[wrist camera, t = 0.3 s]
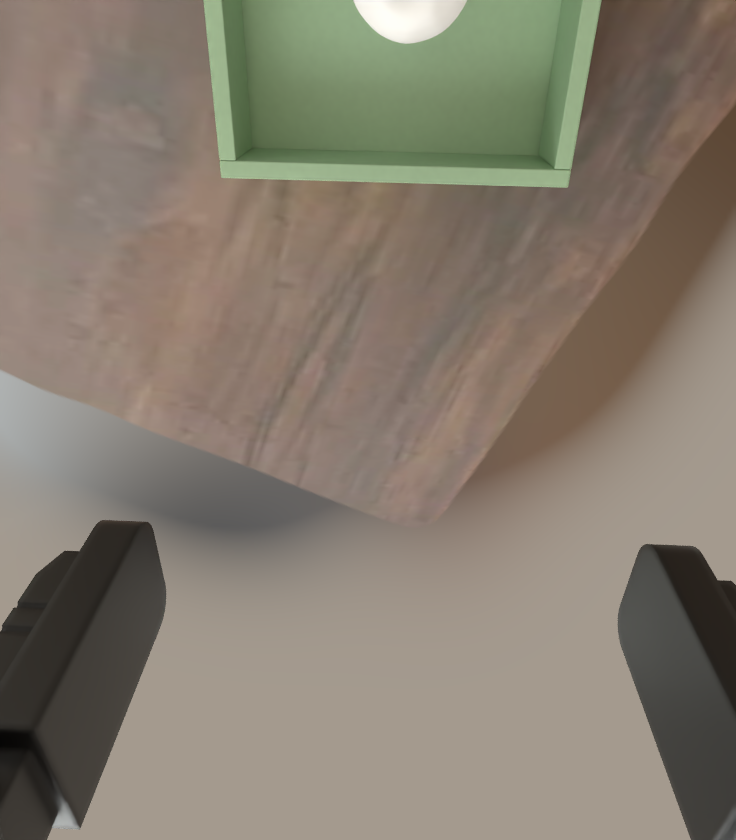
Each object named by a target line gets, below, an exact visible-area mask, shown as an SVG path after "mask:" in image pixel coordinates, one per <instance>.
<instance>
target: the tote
mask: <svg viewBox="0 0 736 840" xmlns="http://www.w3.org/2000/svg"><path fill="white" fill-rule="evenodd" d="M601 1H602V0H467V2H466V4H465V6H464V8H463V9H462V11H461V12H460V14H459V15H458V17H457V18H456V19H455V21H454V22H453V23H452V24H451V25H450V26H449V27H448V28H447V29H446V30H444V31H443V32H442V33H440V34H438V35H437V36H435V37H432V38H430V39H427V40H424V41H421V42H417V43H410V44H403V43H398V42H394V41H391V40H389V39H387V38H385V37H383V36H381V35H380V34H378V33H377V32H376V31H375V30H374V29H372V28H371V27H370V25H369V24H368V23H367V22H366V21H365V20H364V18H363V17H362V16H361V14H360V13H359V11H358V9H357V8H356V6H355V3H354V1H353V0H204V10H205V20H206V30H207V40H208V50H209V60H210V70H211V80H212V90H213V100H214V110H215V120H216V130H217V140H218V150H219V159H220V170H221V177H222V178H245V179H281V180H317V181H352V182H388V183H424V184H459V185H495V186H531V187H566V188H567V187H568V185H569V179H570V174H571V170H570V169H571V168H572V162H573V157H574V151H575V146H576V140H577V134H578V129H579V123H580V118H581V112H582V107H583V101H584V96H585V90H586V84H587V79H588V73H589V68H590V62H591V57H592V51H593V46H594V40H595V34H596V29H597V23H598V18H599V12H600V7H601Z"/></svg>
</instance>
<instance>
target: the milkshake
mask: <svg viewBox="0 0 736 840" xmlns="http://www.w3.org/2000/svg"><path fill="white" fill-rule="evenodd" d="M353 1H354V3H355V6H356V8H357V9H358V11H359V13H360V14H361V16H362V17H363V18H364V20H365V21H366V22H367V23H368V24H369V25H370V27H371V28H372V29H374V30H375V31H376V32H377V33H378V34H380V35H381V36H383V37H385V38H387V39H389V40H391V41H394V42H398V43H403V44H410V43H417V42H421V41H424V40H427V39H430V38H432V37H435V36H437V35H438V34H440V33H442V32H443V31H444V30H446V29H447V28H448V27H449V26H450V25H451V24H452V23H453V22H454V21H455V19H456V18H457V17H458V15H459V14H460V12H461V11H462V9H463V8H464V6H465V4H466V2H467V0H353Z"/></svg>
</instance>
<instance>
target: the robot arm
mask: <svg viewBox="0 0 736 840" xmlns="http://www.w3.org/2000/svg"><path fill="white" fill-rule="evenodd" d="M165 605H166V586H165V581H164V577H163V573H162V568H161V563H160V559H159V554H158V550H157V545H156V540H155V536H154V532H153V528H152V526H151V525H150V524H149V523H148V522H136V521H112V520H102V521H100V522H98V523H97V524H96V526H95V527H94V528H93V530H92V532H91V533H90V535H89V537H88V538H87V540H86V542H85V543H84V545H83V546H82V548H81V550H80V551H64V552H63V553H61V554H60V555H59V556H58V557H56V558H55V559H54V560H53V561H52V562H51V563H49V564H48V565H47V566H45V567H44V568H43V569H42V570H41V571H39V572H38V573H37V574H36V575H35V577H34V578H33V580H32V581H31V583H30V584H29V586H28V587H27V589H26V590H25V592H24V593H23V595H22V596H21V598H20V599H19V601H18V606H17V608H13V610H12V611H11V613H10V614H9V616H8V617H7V619H6V620H5V622H4V623H3V625H2V630H1V632H0V840H47V838H48V836H49V833H50V831H51V829H52V828H64V829H80V828H81V825H82V823H83V820H84V818H85V815H86V813H87V810H88V808H89V805H90V803H91V800H92V798H93V795H94V793H95V790H96V787H97V785H98V783H99V780H100V777H101V775H102V772H103V770H104V767H105V765H106V762H107V760H108V757H109V755H110V752H111V750H112V747H113V745H114V742H115V740H116V737H117V735H118V732H119V730H120V727H121V724H122V722H123V720H124V717H125V714H126V712H127V709H128V707H129V704H130V702H131V699H132V697H133V694H134V692H135V689H136V687H137V684H138V682H139V679H140V676H141V674H142V672H143V669H144V666H145V664H146V661H147V659H148V657H149V654H150V651H151V649H152V646H153V644H154V641H155V639H156V636H157V634H158V631H159V629H160V626H161V623H162V620H163V616H164V612H165ZM618 633H619V639H620V644H621V647H622V650H623V653H624V656H625V658H626V661H627V664H628V667H629V669H630V672H631V675H632V678H633V681H634V683H635V686H636V689H637V691H638V694H639V697H640V700H641V703H642V705H643V708H644V711H645V713H646V716H647V719H648V722H649V724H650V728H651V730H652V733H653V736H654V739H655V741H656V744H657V747H658V750H659V752H660V755H661V758H662V761H663V763H664V766H665V769H666V772H667V774H668V777H669V780H670V783H671V786H672V788H673V791H674V794H675V797H676V799H677V802H678V805H679V808H680V810H681V813H682V816H683V819H684V822H685V824H686V827H687V830H688V832H689V835H690V838H691V840H736V585H735V584H734V583H733V582H732V581H718V580H717V579H716V577H715V575H714V573H713V572H712V570H711V568H710V567H709V565H708V563H707V561H706V560H705V558H704V557H703V555H702V553H701V552H700V551H699V550H698V549H697V548H696V547H693V546H676V545H652V544H651V545H650V544H646V545H643V546H642V547H641V549H640V550H639V552H638V555H637V558H636V561H635V564H634V567H633V569H632V572H631V575H630V578H629V581H628V584H627V587H626V590H625V593H624V596H623V599H622V602H621V605H620V608H619V613H618Z"/></svg>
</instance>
